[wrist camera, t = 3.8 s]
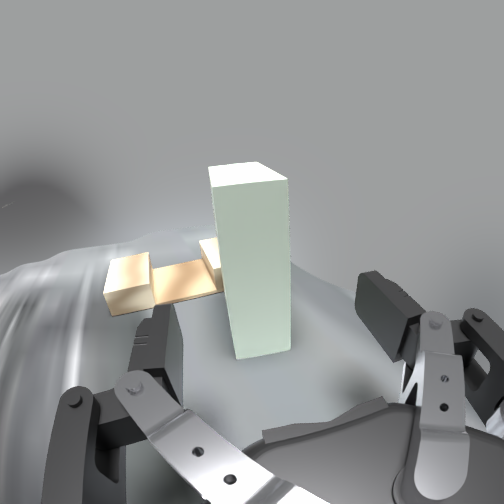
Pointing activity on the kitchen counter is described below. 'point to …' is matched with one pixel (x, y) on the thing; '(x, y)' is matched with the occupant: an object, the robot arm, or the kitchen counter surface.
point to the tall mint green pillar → (254, 255)
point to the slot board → (161, 280)
